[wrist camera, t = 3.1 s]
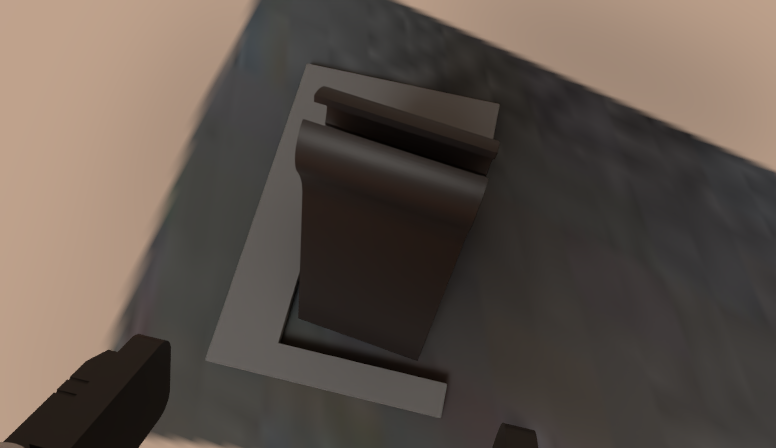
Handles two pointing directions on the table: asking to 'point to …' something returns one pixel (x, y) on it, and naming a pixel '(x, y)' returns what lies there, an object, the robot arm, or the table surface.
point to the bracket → (283, 244)
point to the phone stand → (383, 217)
